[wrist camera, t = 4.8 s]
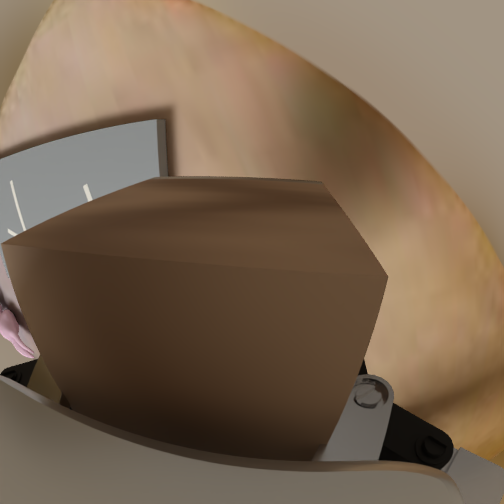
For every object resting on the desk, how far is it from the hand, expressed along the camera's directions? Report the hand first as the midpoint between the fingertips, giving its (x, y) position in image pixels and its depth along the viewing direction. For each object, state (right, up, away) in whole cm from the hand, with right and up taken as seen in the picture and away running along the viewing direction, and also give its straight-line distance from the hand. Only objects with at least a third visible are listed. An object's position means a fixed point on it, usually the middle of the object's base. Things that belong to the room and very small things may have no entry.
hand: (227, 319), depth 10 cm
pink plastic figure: (-36, -7, +20) cm, 41 cm away
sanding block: (0, 0, +1) cm, 1 cm away
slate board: (-17, +6, +11) cm, 21 cm away
